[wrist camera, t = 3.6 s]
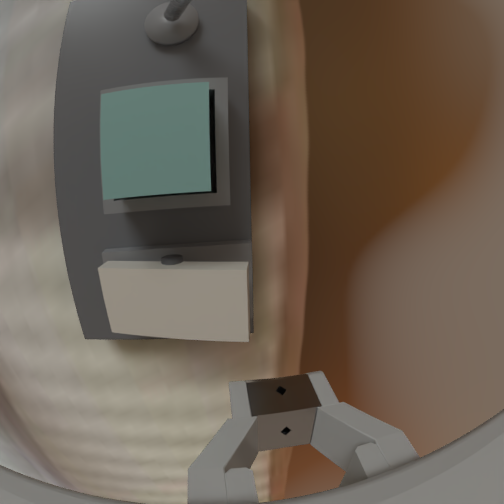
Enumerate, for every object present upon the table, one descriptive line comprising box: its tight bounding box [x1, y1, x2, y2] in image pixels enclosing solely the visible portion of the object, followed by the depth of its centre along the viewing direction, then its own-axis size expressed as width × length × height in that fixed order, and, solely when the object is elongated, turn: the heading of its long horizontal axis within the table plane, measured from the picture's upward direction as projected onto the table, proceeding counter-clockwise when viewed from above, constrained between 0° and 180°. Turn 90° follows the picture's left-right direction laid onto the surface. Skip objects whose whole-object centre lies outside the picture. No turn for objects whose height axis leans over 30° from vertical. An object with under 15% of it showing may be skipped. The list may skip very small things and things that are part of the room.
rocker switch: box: [98, 254, 250, 342], centre depth 15 cm, size 4×8×2 cm, turn 91°
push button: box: [100, 82, 211, 200], centre depth 12 cm, size 4×4×3 cm
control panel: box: [54, 0, 254, 339], centre depth 15 cm, size 24×12×6 cm, turn 1°
